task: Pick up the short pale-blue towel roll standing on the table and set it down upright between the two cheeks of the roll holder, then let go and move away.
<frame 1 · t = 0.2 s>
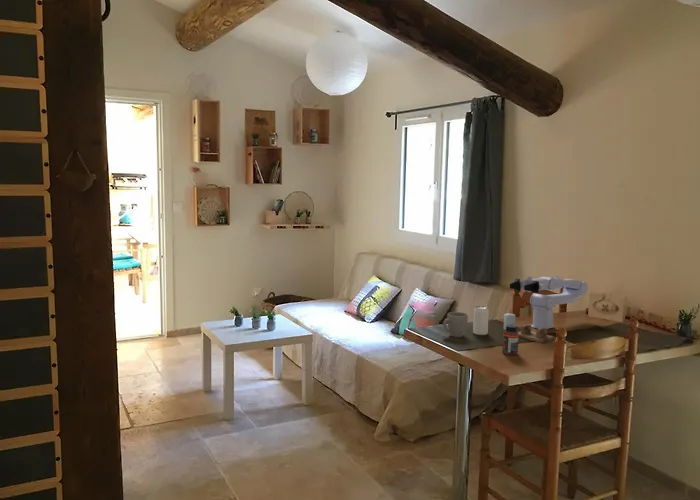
hand: (517, 286, 269), 21 cm above the table, tool horizontal, fingers open, 7 cm apart
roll: (509, 329, 278), on the table
holder: (533, 337, 265), on the table
supplement bottle: (509, 354, 240), on the table
mug: (453, 336, 265), on the table
can: (480, 334, 270), on the table
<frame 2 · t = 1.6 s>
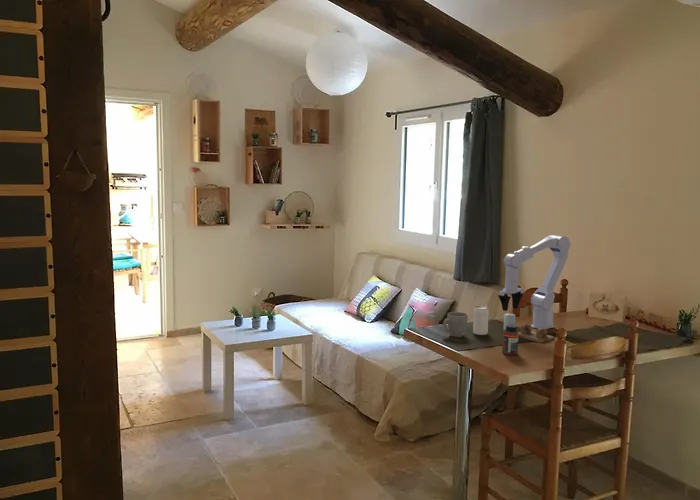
hand: (510, 309, 277), 9 cm above the table, tool pointing down, fingers open, 7 cm apart
nothing on the table moved.
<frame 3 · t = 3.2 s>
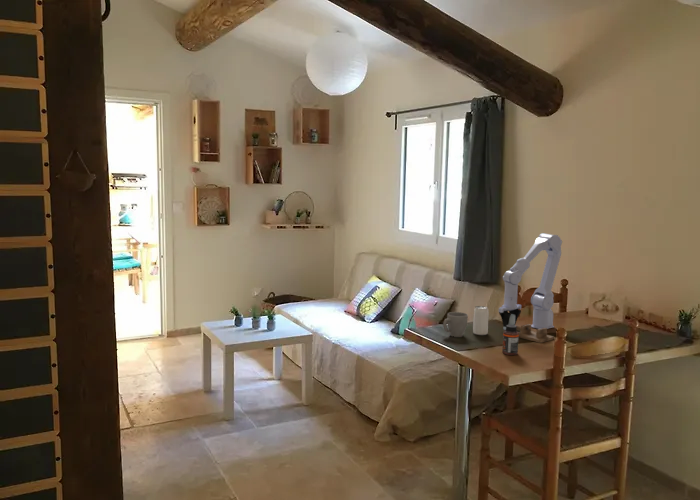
hand: (509, 325, 278), 2 cm above the table, tool pointing down, fingers closed on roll, 5 cm apart
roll: (509, 329, 278), on the table, touching gripper
everything else where it was.
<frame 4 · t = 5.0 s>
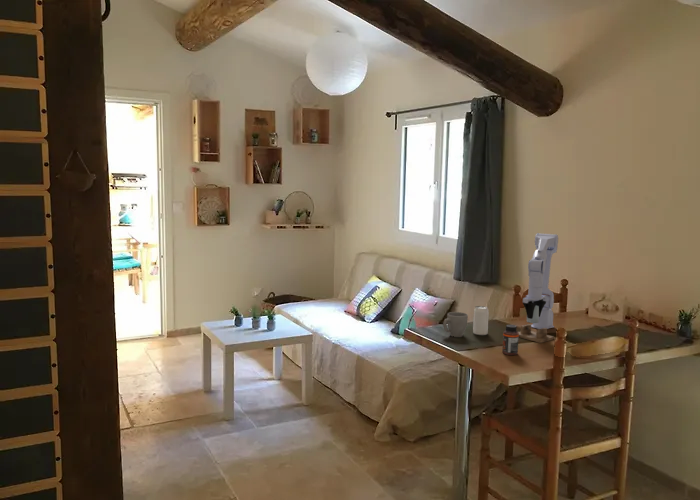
hand: (533, 317, 264), 9 cm above the table, tool pointing down, fingers closed on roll, 5 cm apart
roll: (532, 321, 265), point 7 cm above the table, touching gripper
everything else where it was.
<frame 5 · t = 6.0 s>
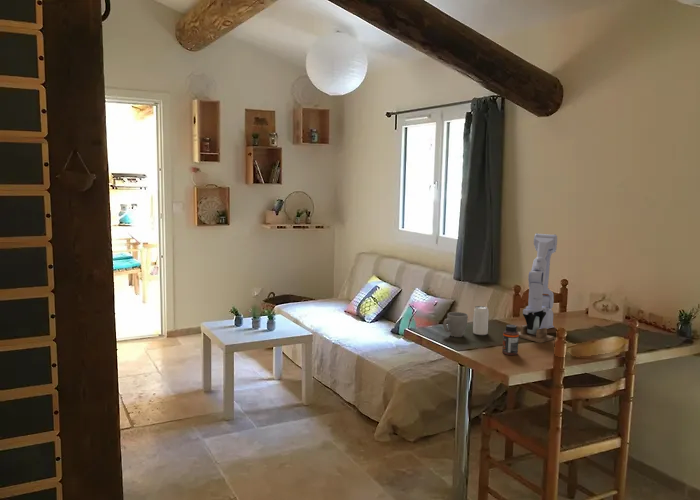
hand: (533, 328, 264), 4 cm above the table, tool pointing down, fingers closed on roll, 5 cm apart
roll: (533, 332, 265), point 2 cm above the table, touching gripper
everything else where it was.
when the fingers open (4 cm above the table, at t = 6.9 s): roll stays where it is, resting on holder.
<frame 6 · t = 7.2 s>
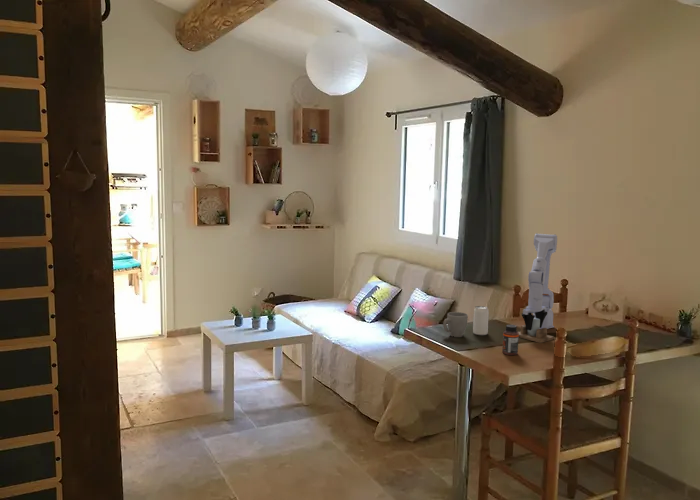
hand: (533, 328, 264), 4 cm above the table, tool pointing down, fingers open, 7 cm apart
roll: (533, 334, 265), point 1 cm above the table, touching holder
everything else where it was.
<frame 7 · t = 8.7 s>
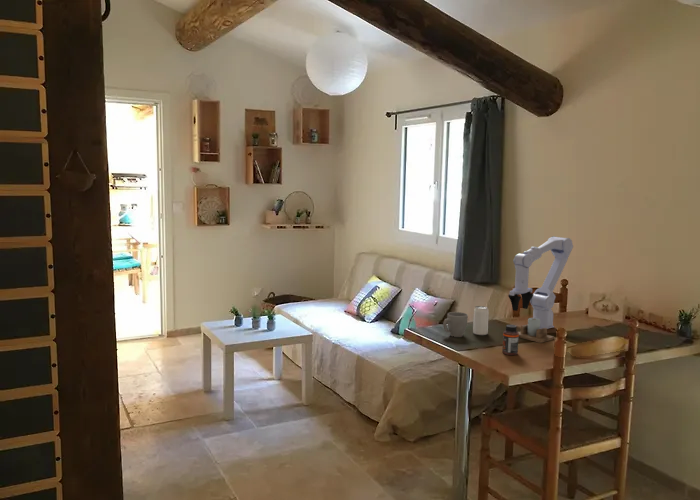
hand: (520, 309, 275), 10 cm above the table, tool pointing down, fingers open, 7 cm apart
nothing on the table moved.
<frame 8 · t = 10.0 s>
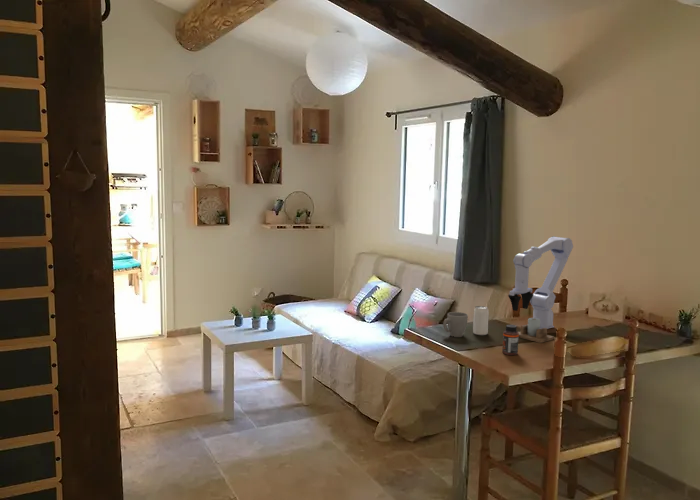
hand: (520, 309, 275), 10 cm above the table, tool pointing down, fingers open, 7 cm apart
nothing on the table moved.
at the end: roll 0.1 cm off-centre on the holder, point 1.2 cm above the holder's base; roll tilted 0°; the gripper is holding nothing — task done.
